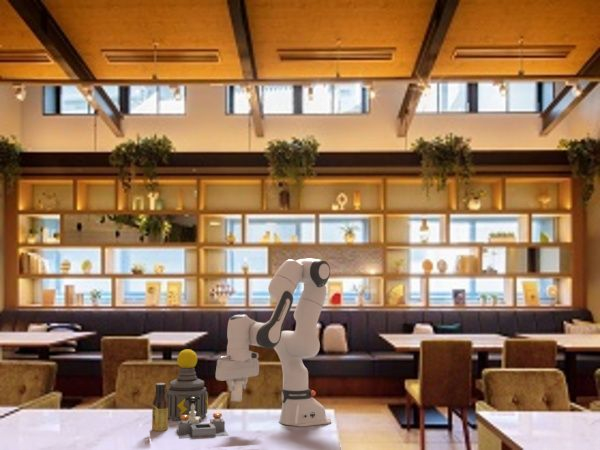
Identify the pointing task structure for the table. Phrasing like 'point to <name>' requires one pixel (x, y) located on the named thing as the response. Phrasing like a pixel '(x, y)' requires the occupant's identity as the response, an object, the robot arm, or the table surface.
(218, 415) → the plunger
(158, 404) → the sauce bottle
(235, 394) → the cylinder
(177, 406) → the decorative lamp
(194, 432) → the housing
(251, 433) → the table surface
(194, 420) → the valve
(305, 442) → the table surface
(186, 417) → the plunger
